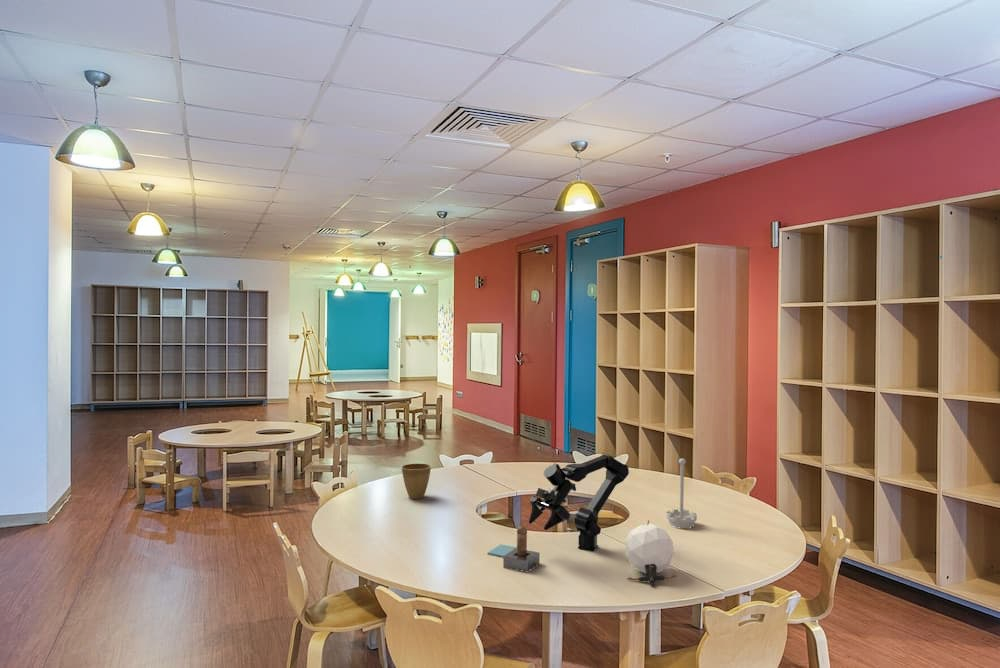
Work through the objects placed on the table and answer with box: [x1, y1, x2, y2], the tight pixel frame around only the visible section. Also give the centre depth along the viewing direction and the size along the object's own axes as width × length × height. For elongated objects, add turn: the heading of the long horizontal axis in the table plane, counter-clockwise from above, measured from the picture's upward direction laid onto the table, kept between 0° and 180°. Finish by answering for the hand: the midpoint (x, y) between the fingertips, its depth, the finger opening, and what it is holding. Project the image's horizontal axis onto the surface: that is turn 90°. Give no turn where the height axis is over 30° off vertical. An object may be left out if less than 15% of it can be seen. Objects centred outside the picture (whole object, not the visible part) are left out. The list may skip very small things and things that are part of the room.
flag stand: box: [666, 458, 698, 529], centre depth 289 cm, size 13×13×30 cm
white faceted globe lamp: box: [625, 520, 678, 586], centre depth 230 cm, size 17×25×24 cm
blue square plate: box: [486, 543, 517, 558], centre depth 252 cm, size 11×11×1 cm
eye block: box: [502, 548, 541, 572], centre depth 239 cm, size 10×10×4 cm
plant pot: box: [401, 462, 432, 500], centre depth 330 cm, size 15×15×16 cm
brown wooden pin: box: [516, 525, 528, 558], centre depth 239 cm, size 4×4×14 cm
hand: (536, 526), depth 243 cm, fingers open, 9 cm apart
